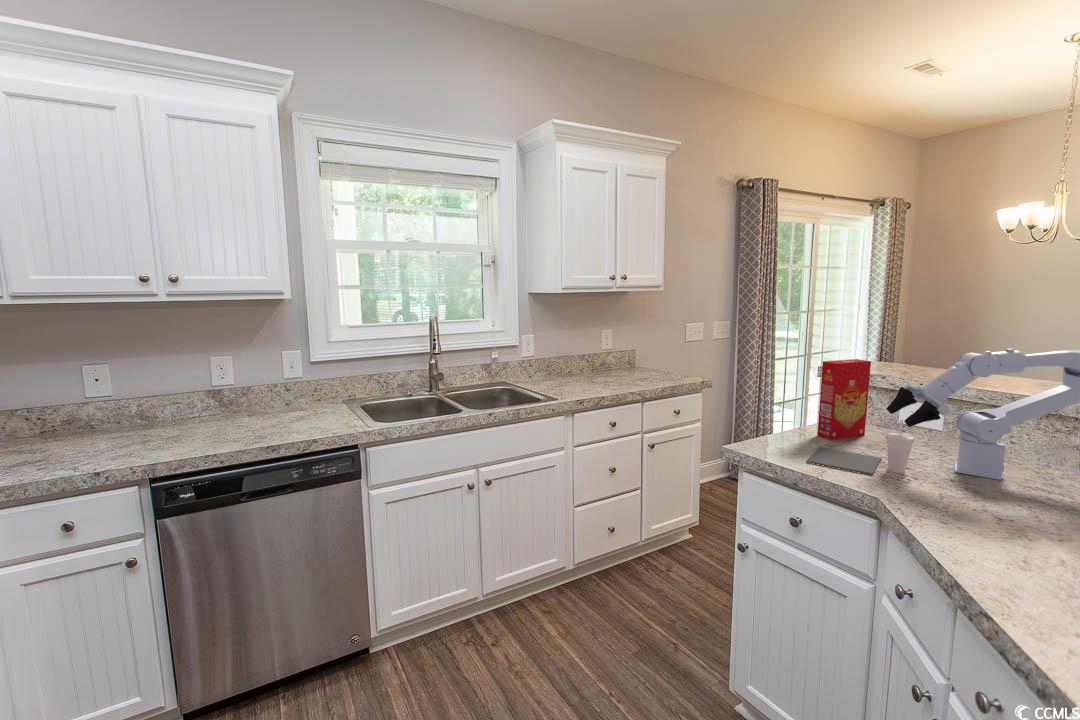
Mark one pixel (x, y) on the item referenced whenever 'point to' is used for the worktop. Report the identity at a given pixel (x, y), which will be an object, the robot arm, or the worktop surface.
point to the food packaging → (843, 398)
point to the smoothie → (898, 450)
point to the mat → (845, 460)
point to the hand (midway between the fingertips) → (897, 417)
